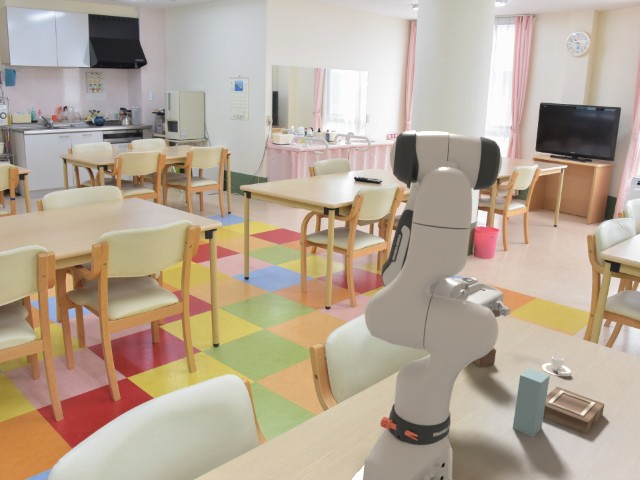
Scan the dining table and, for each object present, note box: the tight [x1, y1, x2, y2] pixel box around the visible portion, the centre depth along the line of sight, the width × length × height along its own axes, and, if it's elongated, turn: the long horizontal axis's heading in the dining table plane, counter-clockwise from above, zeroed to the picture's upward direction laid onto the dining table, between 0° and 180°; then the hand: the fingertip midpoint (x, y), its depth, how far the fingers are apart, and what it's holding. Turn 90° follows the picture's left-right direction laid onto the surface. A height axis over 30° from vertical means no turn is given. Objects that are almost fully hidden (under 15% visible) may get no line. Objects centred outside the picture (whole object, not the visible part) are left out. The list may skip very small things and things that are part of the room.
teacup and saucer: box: [541, 355, 573, 377], centre depth 172 cm, size 9×8×4 cm
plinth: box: [543, 386, 605, 435], centre depth 149 cm, size 12×12×3 cm
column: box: [512, 367, 551, 438], centre depth 141 cm, size 5×5×14 cm
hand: (497, 319), depth 143 cm, fingers open, 8 cm apart
